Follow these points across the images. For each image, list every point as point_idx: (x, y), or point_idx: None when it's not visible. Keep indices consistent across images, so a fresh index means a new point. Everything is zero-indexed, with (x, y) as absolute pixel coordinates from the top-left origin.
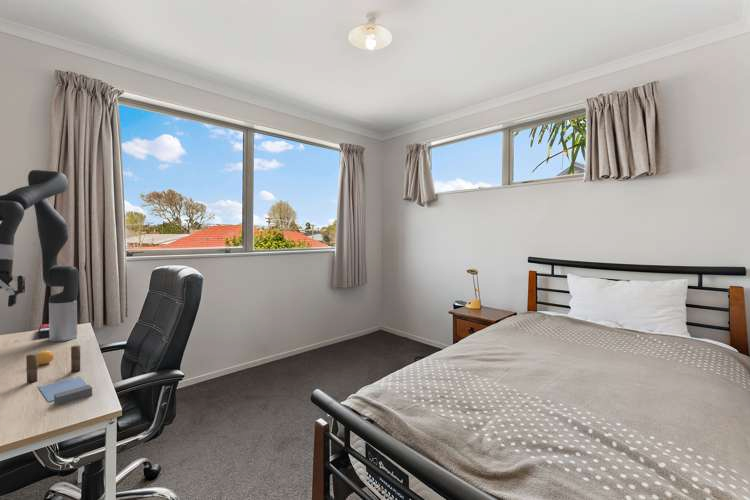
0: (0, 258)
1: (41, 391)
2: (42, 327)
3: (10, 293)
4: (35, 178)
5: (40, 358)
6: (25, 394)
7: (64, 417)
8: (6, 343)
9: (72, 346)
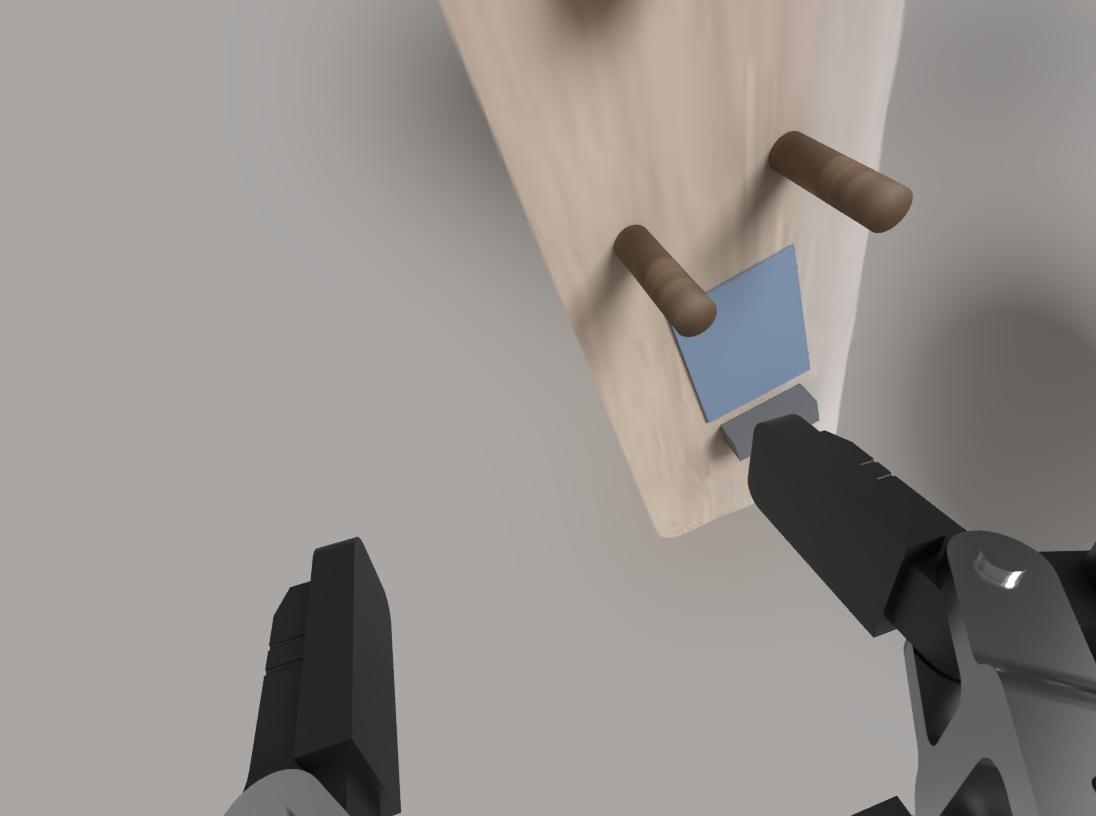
0: None
1: (683, 356)
2: None
3: (925, 668)
4: None
5: None
6: (640, 361)
7: (742, 486)
8: None
9: (877, 203)
